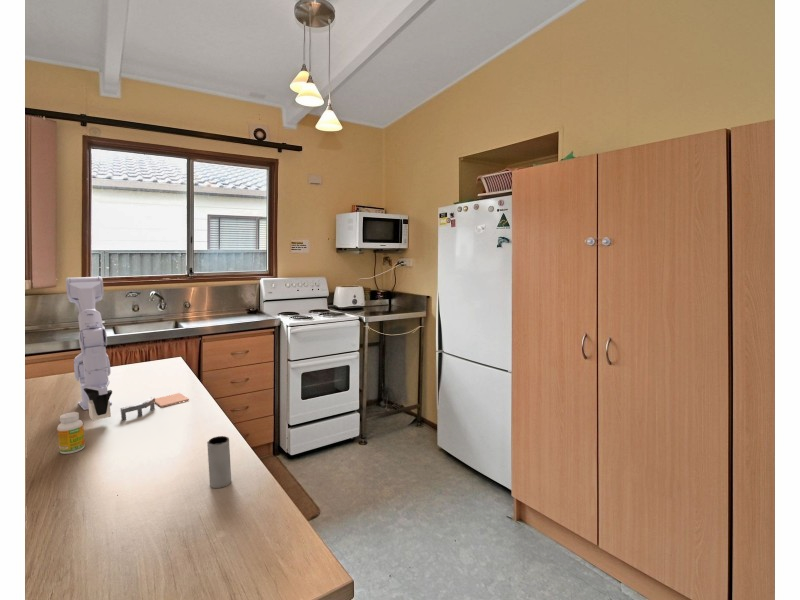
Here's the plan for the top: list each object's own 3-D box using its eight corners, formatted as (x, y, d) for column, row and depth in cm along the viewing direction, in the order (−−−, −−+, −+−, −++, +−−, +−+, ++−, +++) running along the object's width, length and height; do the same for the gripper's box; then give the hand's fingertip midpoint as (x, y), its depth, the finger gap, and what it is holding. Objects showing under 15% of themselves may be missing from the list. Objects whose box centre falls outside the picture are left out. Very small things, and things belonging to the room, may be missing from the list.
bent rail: (118, 416, 135) (117, 405, 135) (154, 407, 143) (154, 397, 142) (122, 420, 132) (121, 409, 131) (159, 411, 140) (158, 400, 139)
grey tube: (223, 475, 100) (221, 434, 99) (235, 481, 97) (233, 439, 96) (205, 484, 96) (203, 441, 95) (217, 490, 94) (214, 446, 92)
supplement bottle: (71, 455, 110) (67, 419, 109) (54, 453, 111) (50, 418, 110) (90, 445, 115) (87, 411, 114) (73, 444, 116) (70, 410, 115)
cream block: (89, 416, 128) (87, 400, 127) (107, 412, 131) (105, 397, 131) (92, 420, 125) (91, 404, 124) (110, 416, 128) (109, 400, 128)
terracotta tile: (152, 401, 149) (152, 399, 149) (179, 394, 155) (179, 392, 155) (161, 407, 143) (161, 405, 143) (189, 400, 149) (189, 398, 149)
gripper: (74, 366, 128) (78, 409, 130) (84, 376, 118) (89, 422, 120) (101, 361, 133) (105, 403, 135) (114, 371, 124) (118, 415, 125)
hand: (99, 412), depth 128 cm, fingers closed on cream block, 4 cm apart
